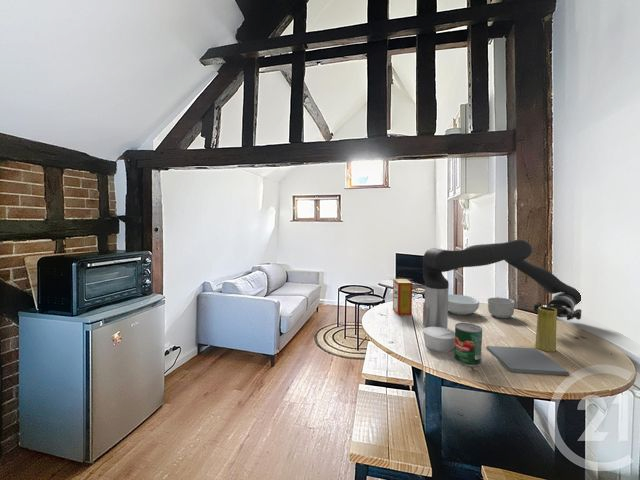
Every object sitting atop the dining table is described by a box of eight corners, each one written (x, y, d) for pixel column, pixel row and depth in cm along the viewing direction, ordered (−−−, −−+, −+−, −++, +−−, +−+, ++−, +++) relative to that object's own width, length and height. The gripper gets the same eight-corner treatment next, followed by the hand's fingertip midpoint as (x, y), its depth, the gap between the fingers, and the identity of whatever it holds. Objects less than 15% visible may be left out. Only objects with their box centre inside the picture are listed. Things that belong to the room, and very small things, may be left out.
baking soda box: (411, 315, 140) (412, 282, 139) (397, 315, 140) (398, 282, 139) (405, 309, 149) (406, 278, 148) (392, 309, 149) (393, 278, 148)
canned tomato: (452, 362, 93) (453, 328, 92) (455, 352, 100) (456, 321, 99) (480, 368, 89) (481, 333, 88) (481, 358, 95) (483, 325, 95)
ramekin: (454, 356, 97) (455, 340, 97) (419, 349, 103) (420, 334, 102) (457, 344, 107) (457, 329, 107) (425, 338, 112) (425, 324, 112)
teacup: (514, 321, 131) (514, 304, 130) (486, 317, 137) (487, 300, 136) (513, 313, 143) (513, 297, 142) (487, 309, 149) (488, 294, 148)
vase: (560, 352, 100) (562, 311, 99) (540, 351, 101) (542, 310, 100) (550, 345, 106) (552, 306, 105) (531, 344, 107) (533, 305, 106)
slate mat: (510, 371, 87) (510, 368, 87) (486, 348, 103) (486, 345, 103) (568, 375, 85) (569, 371, 85) (535, 351, 101) (535, 348, 101)
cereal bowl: (437, 313, 142) (437, 299, 141) (444, 305, 156) (444, 292, 155) (476, 320, 132) (476, 305, 132) (480, 311, 146) (481, 297, 145)
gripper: (540, 294, 126) (531, 301, 115) (585, 300, 116) (579, 309, 105) (540, 311, 127) (530, 319, 116) (584, 319, 116) (578, 329, 105)
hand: (553, 314), depth 110 cm, fingers open, 8 cm apart
